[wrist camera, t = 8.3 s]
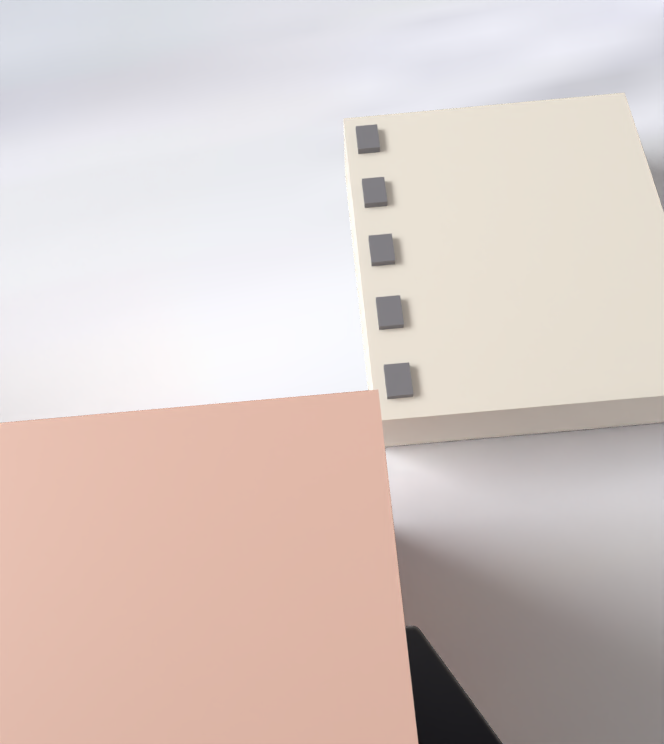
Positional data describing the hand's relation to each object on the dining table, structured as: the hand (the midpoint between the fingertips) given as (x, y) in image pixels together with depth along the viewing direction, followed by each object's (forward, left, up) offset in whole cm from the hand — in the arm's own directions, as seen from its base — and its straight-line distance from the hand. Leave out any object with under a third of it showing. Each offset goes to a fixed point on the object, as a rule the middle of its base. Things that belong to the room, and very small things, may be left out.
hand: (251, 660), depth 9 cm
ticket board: (+6, -9, -7) cm, 13 cm away
